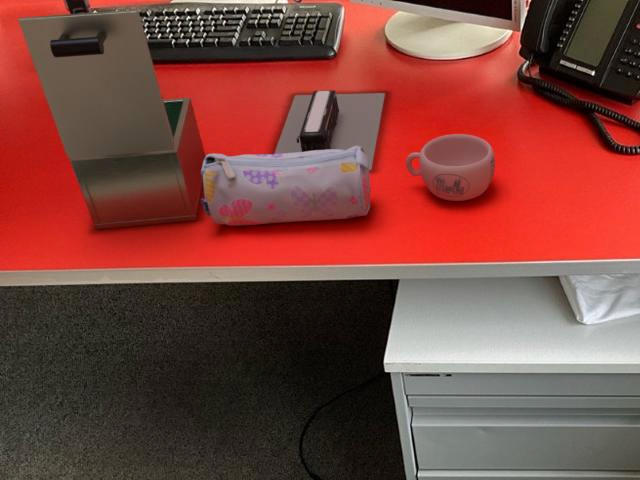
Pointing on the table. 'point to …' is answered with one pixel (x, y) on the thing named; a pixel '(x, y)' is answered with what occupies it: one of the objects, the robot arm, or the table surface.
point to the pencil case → (286, 186)
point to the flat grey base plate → (332, 123)
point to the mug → (455, 166)
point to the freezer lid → (99, 82)
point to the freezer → (147, 178)
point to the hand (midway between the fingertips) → (89, 38)
